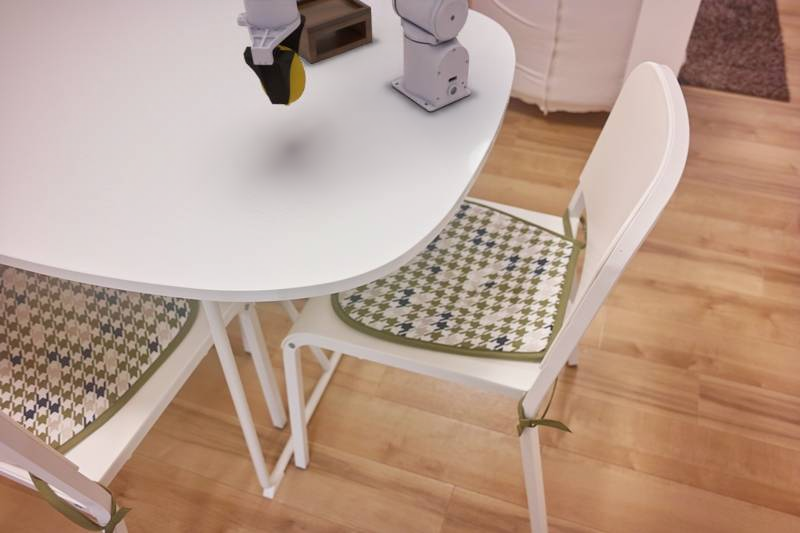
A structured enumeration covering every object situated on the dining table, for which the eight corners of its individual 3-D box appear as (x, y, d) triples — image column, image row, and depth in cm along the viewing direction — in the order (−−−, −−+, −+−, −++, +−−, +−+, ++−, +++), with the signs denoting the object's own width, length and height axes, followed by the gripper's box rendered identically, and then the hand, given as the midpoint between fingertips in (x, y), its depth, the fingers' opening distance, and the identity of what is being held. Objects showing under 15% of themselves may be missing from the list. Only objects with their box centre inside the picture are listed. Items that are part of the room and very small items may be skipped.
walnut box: (372, 41, 102) (371, 7, 98) (311, 63, 97) (307, 28, 93) (339, 20, 108) (337, -14, 103) (280, 40, 103) (274, 5, 98)
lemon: (314, 111, 76) (306, 51, 71) (271, 121, 75) (259, 61, 69) (302, 89, 80) (294, 30, 74) (261, 98, 79) (249, 39, 73)
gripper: (244, -50, 71) (264, 59, 81) (212, 6, 61) (240, 122, 71) (304, -49, 71) (317, 60, 81) (282, 7, 61) (300, 123, 71)
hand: (284, 89), depth 76 cm, fingers closed on lemon, 5 cm apart
